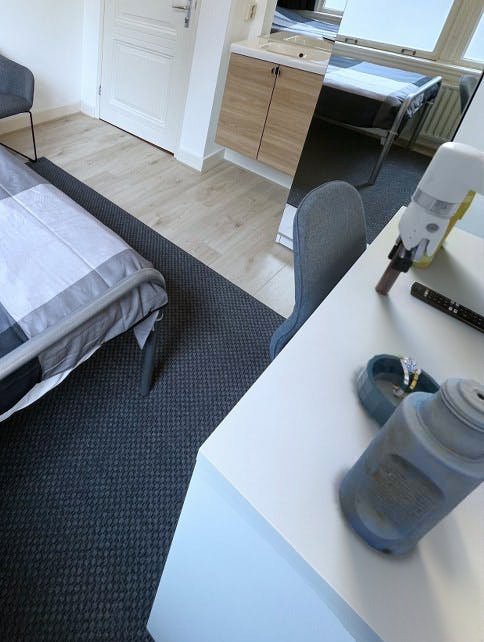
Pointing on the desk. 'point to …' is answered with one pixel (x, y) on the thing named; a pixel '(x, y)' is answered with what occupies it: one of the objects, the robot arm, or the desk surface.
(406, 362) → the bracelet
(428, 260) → the yellow toy tower
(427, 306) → the desk surface
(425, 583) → the desk surface
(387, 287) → the brown wooden dowel
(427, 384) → the bowl
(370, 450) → the bottle
